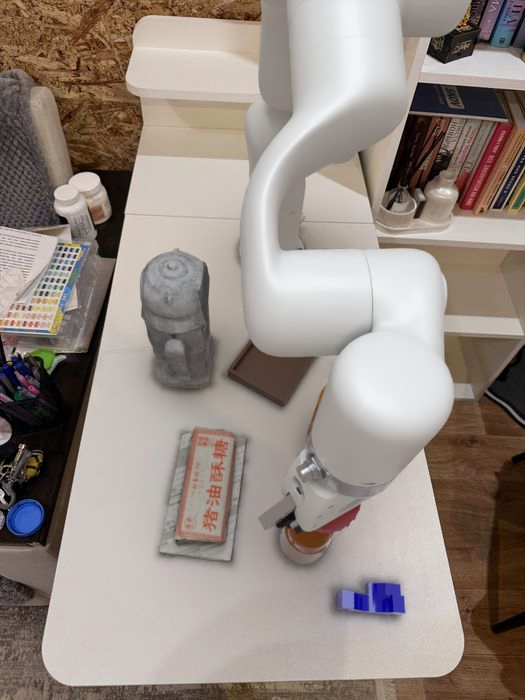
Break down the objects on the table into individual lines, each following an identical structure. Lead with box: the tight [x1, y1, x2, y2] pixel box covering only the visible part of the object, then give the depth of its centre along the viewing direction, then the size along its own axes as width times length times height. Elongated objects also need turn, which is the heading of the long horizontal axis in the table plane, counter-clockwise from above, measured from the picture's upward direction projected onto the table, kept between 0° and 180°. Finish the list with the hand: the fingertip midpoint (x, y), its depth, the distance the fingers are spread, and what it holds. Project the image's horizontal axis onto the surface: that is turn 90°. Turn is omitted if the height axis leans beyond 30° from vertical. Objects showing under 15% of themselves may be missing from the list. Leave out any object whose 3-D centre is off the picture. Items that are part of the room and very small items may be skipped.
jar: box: [279, 526, 335, 565], centre depth 68 cm, size 6×6×10 cm
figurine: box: [139, 247, 215, 389], centre depth 76 cm, size 10×14×25 cm
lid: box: [315, 503, 362, 534], centre depth 53 cm, size 7×7×2 cm
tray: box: [227, 338, 316, 407], centre depth 86 cm, size 13×11×2 cm
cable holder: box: [336, 582, 406, 616], centre depth 67 cm, size 8×4×4 cm, turn 85°
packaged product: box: [158, 425, 247, 562], centre depth 73 cm, size 18×5×10 cm
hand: (322, 501), depth 55 cm, fingers closed on lid, 7 cm apart
